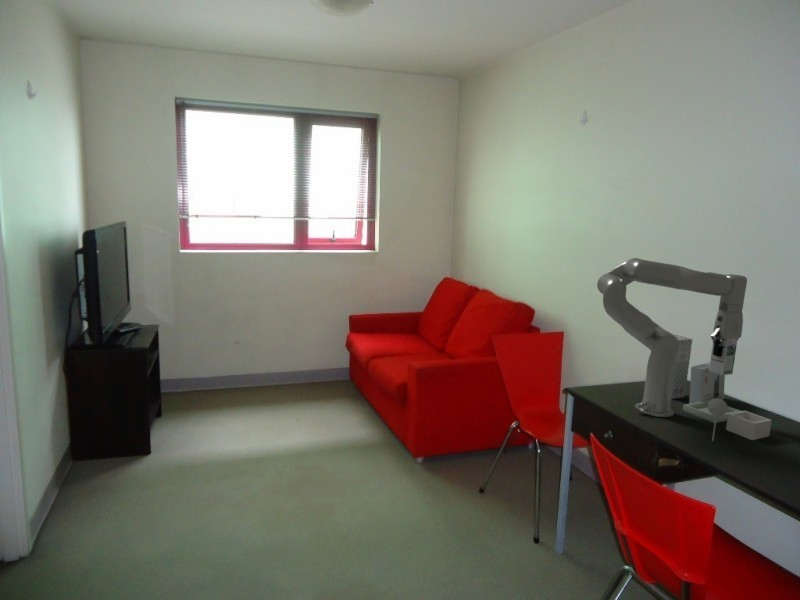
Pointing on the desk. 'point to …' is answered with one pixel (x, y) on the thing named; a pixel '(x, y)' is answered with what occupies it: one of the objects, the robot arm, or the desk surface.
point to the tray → (706, 411)
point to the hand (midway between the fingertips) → (723, 354)
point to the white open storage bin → (748, 425)
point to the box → (681, 367)
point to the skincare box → (705, 384)
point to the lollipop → (717, 410)
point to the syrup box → (724, 358)
